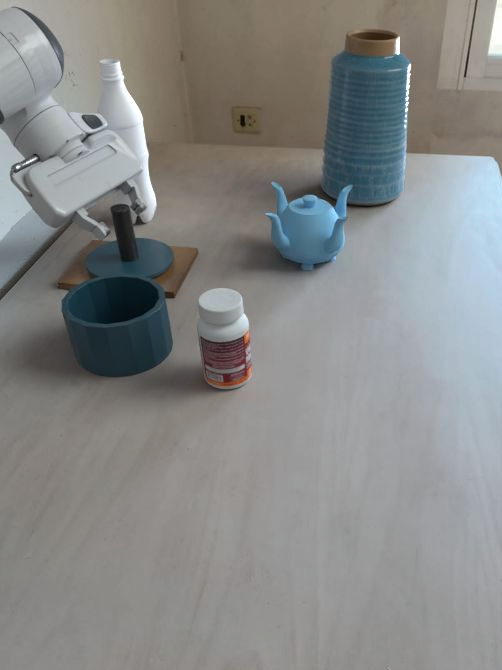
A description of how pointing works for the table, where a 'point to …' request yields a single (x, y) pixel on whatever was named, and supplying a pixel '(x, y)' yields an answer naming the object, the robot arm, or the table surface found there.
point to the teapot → (308, 228)
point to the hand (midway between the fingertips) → (125, 223)
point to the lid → (128, 251)
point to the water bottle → (126, 131)
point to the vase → (367, 119)
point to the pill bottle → (224, 339)
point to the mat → (167, 280)
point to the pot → (118, 324)
